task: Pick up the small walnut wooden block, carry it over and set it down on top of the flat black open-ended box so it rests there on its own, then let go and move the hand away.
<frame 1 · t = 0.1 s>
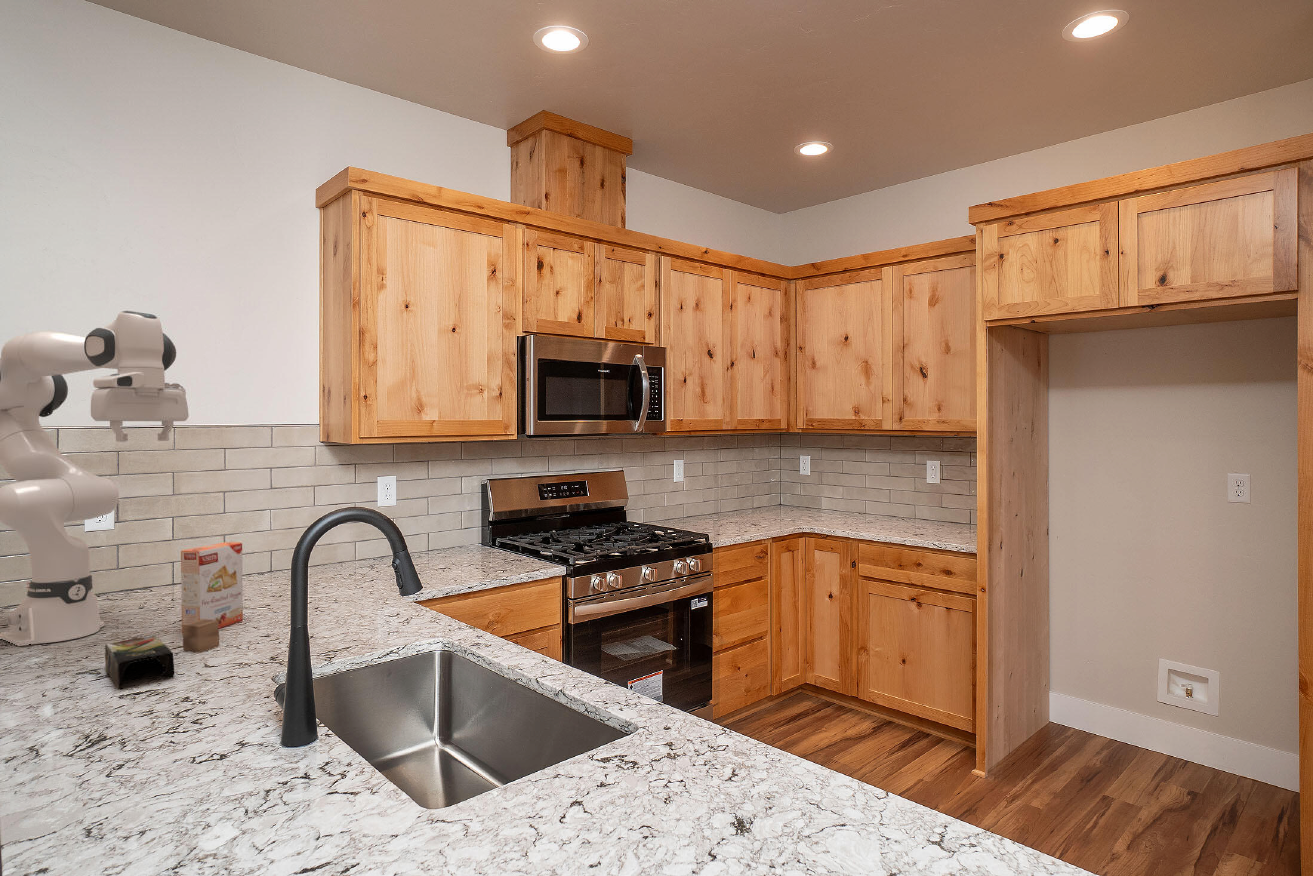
hand: (143, 441, 166), 48 cm above the countertop, tool pointing down, fingers open, 8 cm apart
walnut block: (201, 648, 165), on the countertop
cracker box: (214, 628, 183), on the countertop
black open-ended box: (139, 675, 149), on the countertop
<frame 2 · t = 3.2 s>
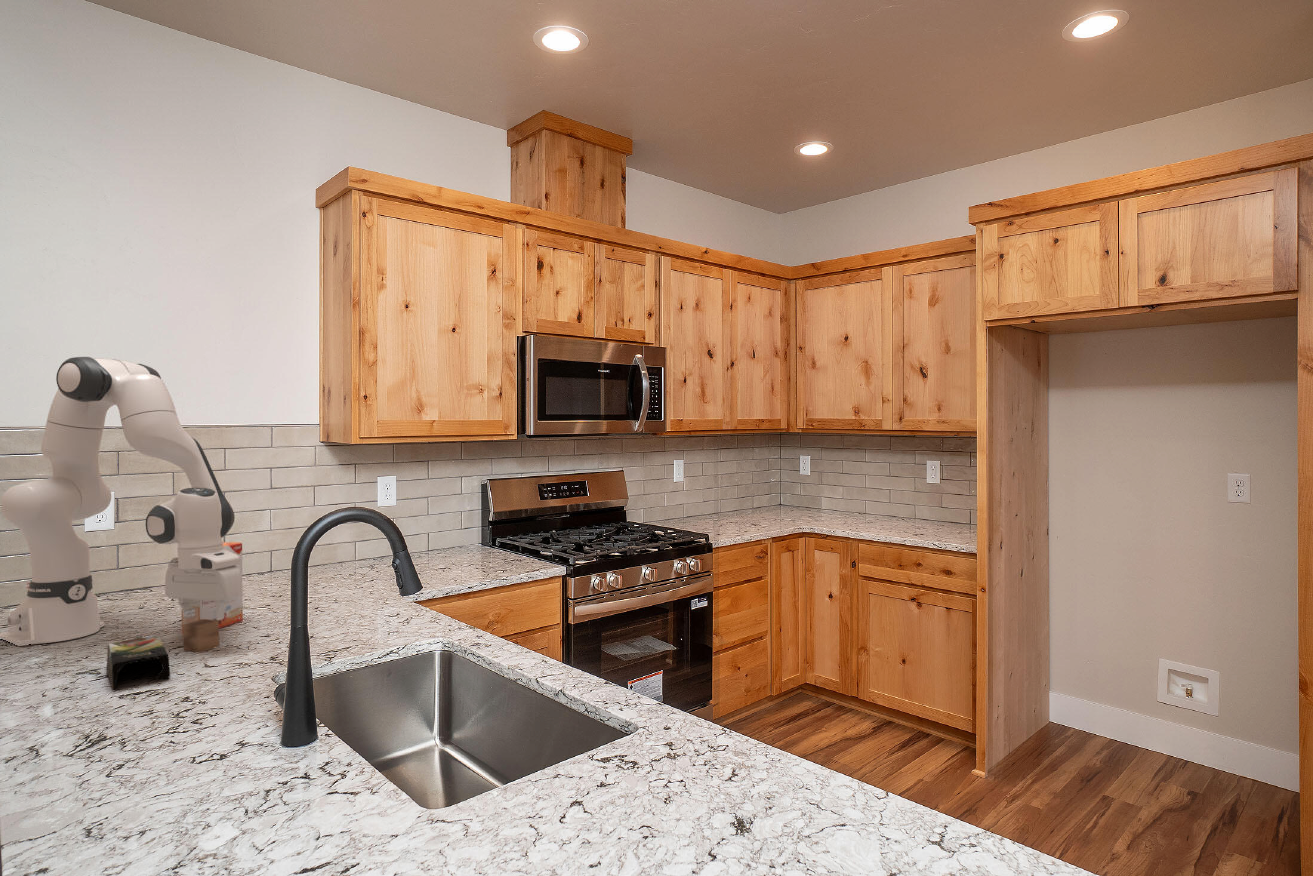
hand: (203, 618, 165), 7 cm above the countertop, tool pointing down, fingers open, 8 cm apart
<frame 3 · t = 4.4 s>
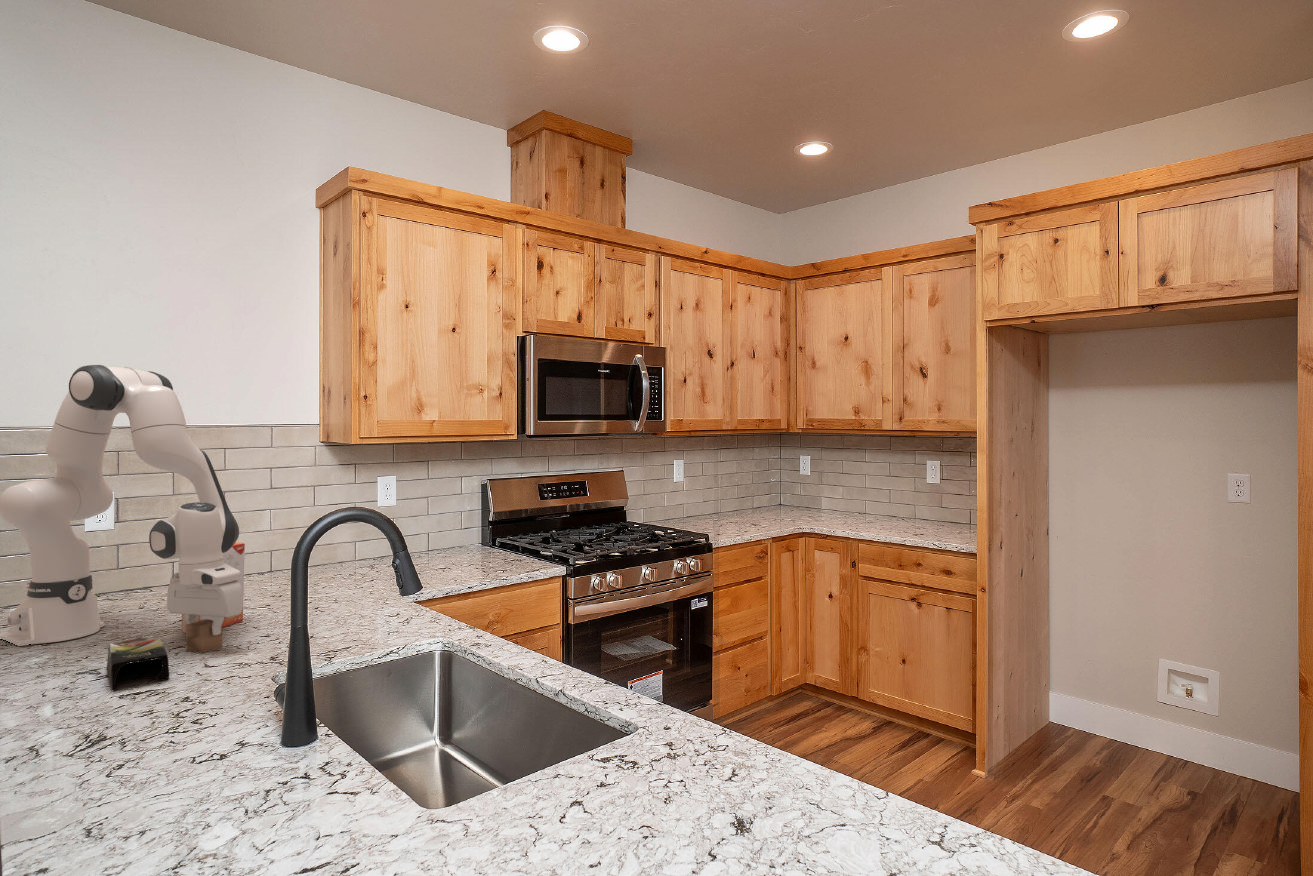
hand: (205, 633, 165), 3 cm above the countertop, tool pointing down, fingers closed on walnut block, 5 cm apart
walnut block: (204, 648, 165), on the countertop, touching gripper
cracker box: (213, 628, 183), on the countertop, touching arm
everything else where it was.
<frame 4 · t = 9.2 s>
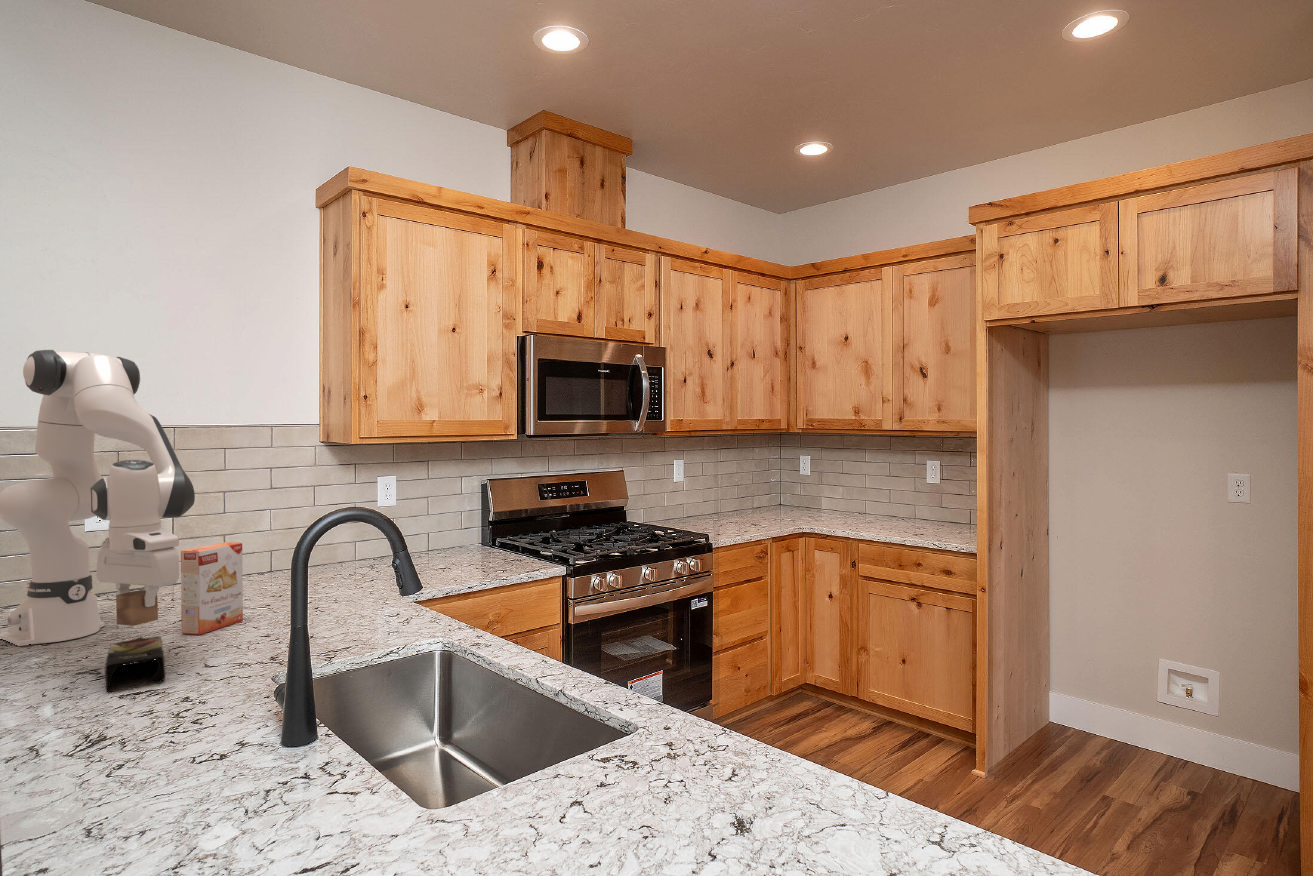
hand: (137, 605, 149), 14 cm above the countertop, tool pointing down, fingers closed on walnut block, 5 cm apart
walnut block: (137, 621, 149), point 11 cm above the countertop, touching gripper
cracker box: (214, 628, 183), on the countertop
when the fingers open (10 cm above the countertop, at t = 11.0 s): walnut block stays where it is, resting on black open-ended box.
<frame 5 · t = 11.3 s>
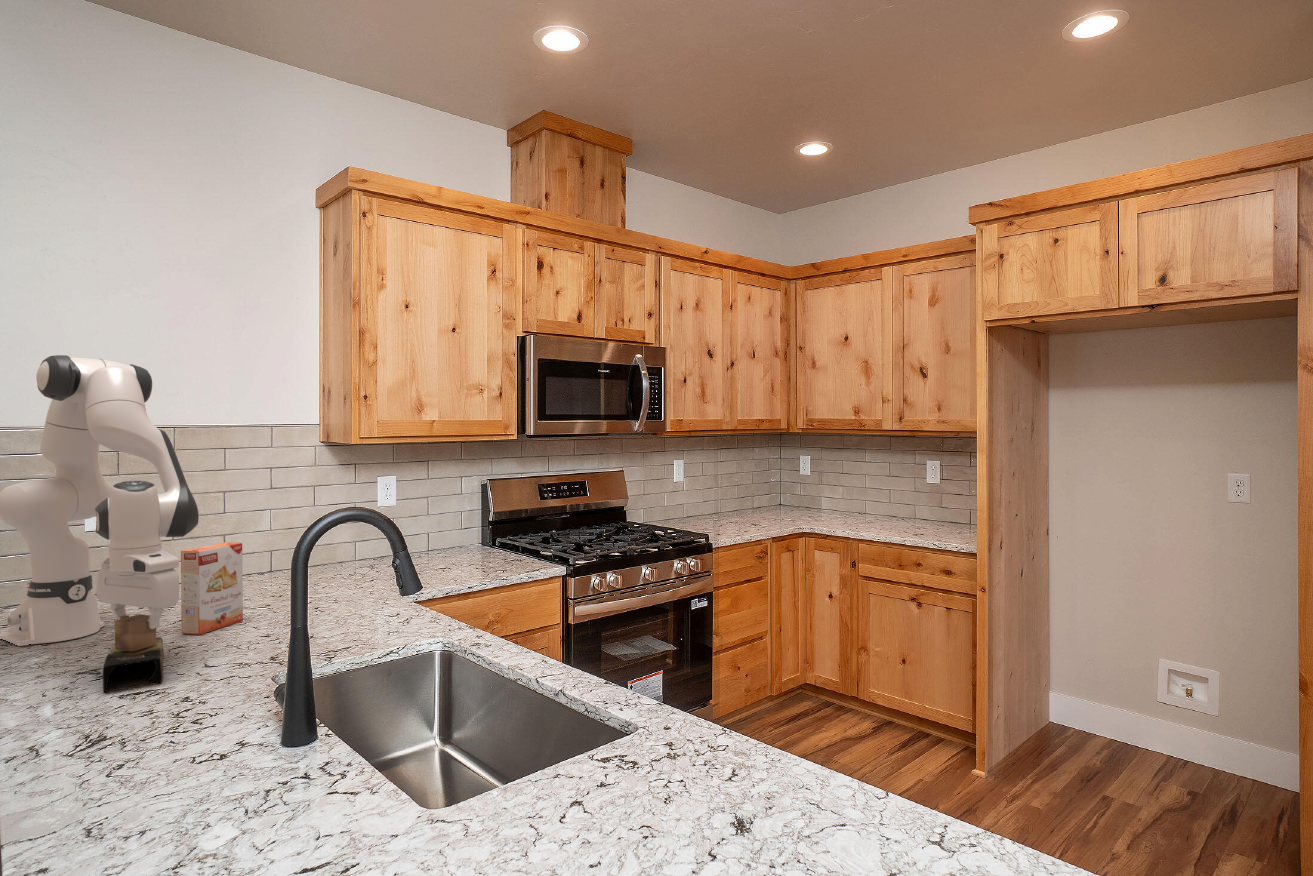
hand: (137, 626, 149), 10 cm above the countertop, tool pointing down, fingers open, 8 cm apart
walnut block: (136, 647, 149), point 5 cm above the countertop, touching black open-ended box
black open-ended box: (135, 678, 147), on the countertop, touching walnut block
everything else where it was.
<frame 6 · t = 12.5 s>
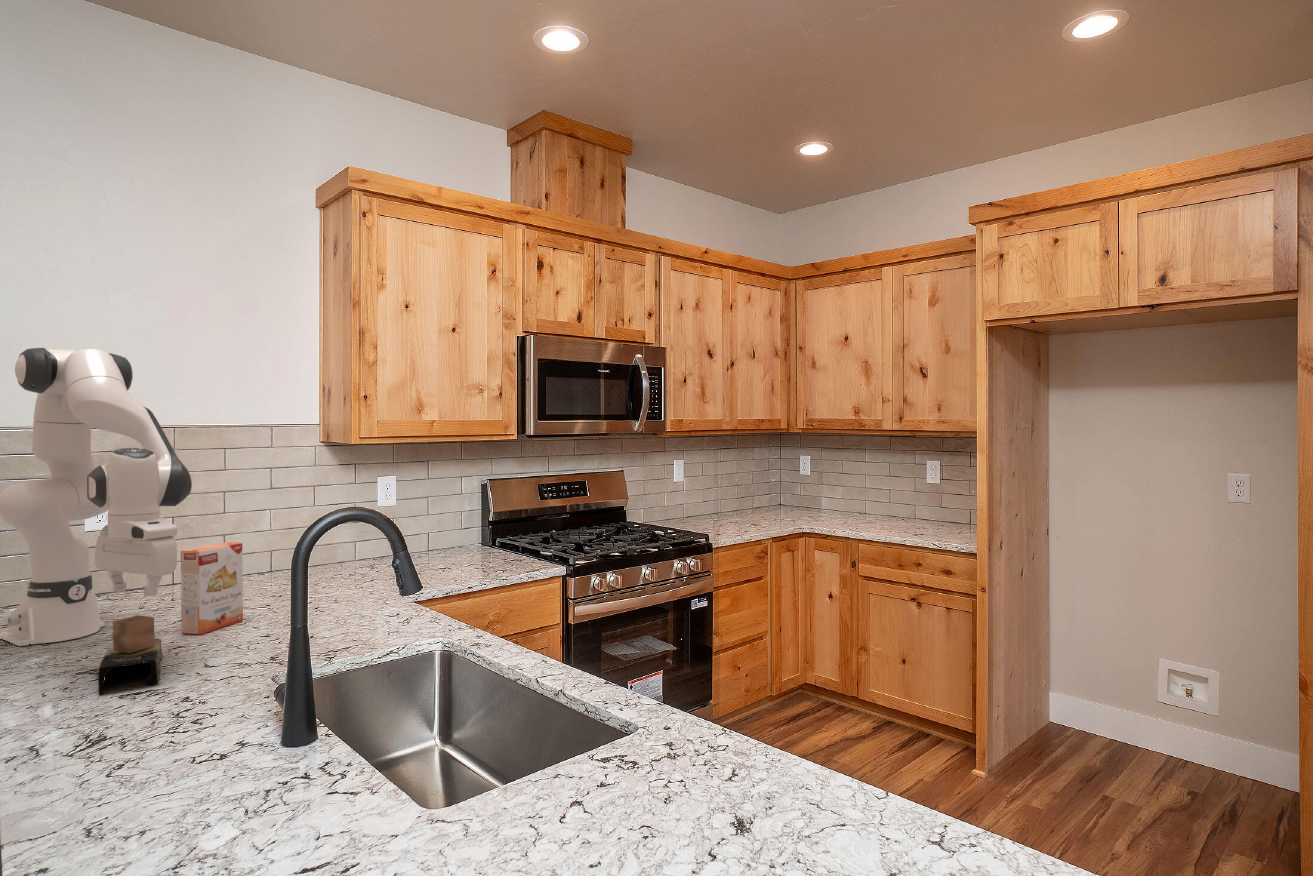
hand: (135, 593, 149), 16 cm above the countertop, tool pointing down, fingers open, 8 cm apart
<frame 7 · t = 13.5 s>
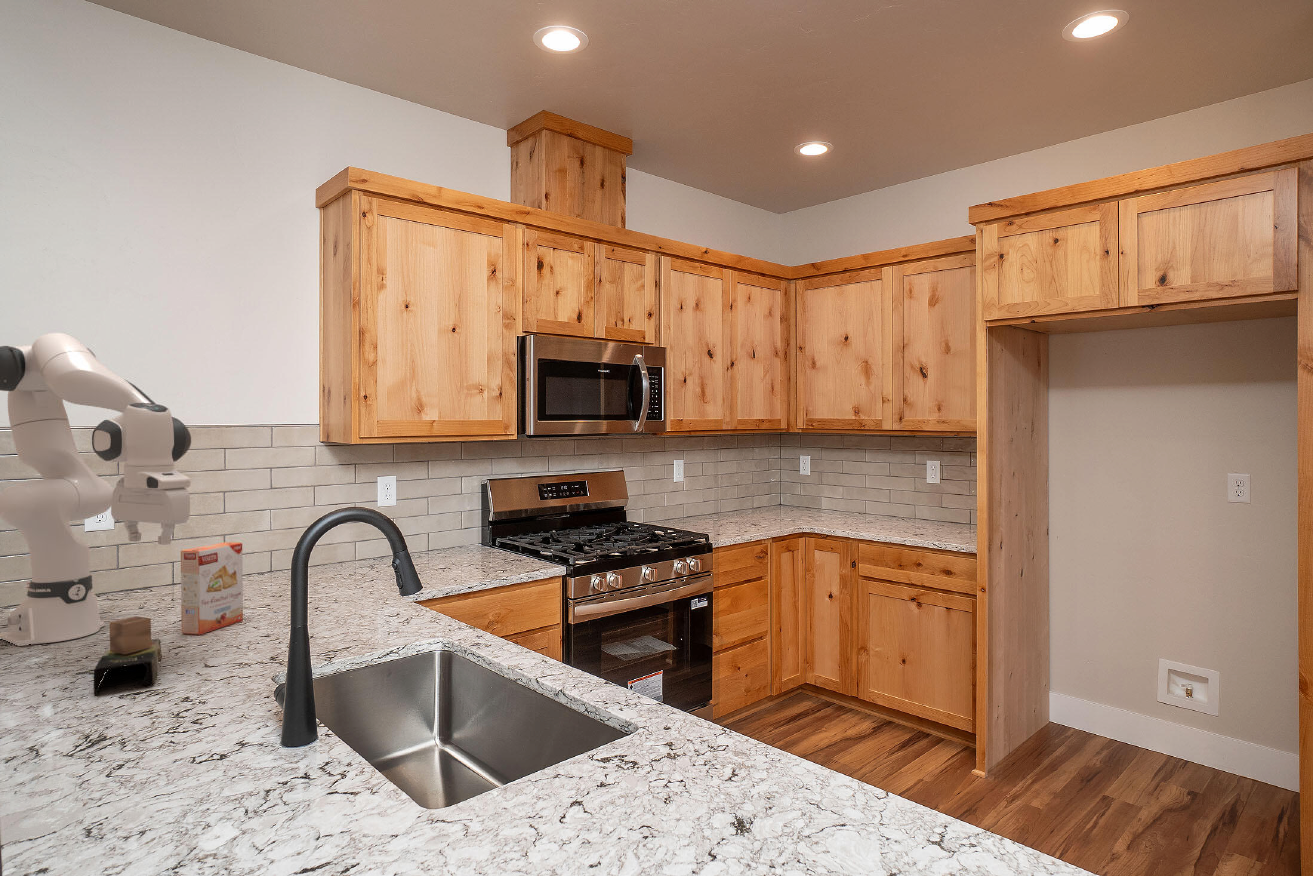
hand: (149, 542, 155), 26 cm above the countertop, tool pointing down, fingers open, 8 cm apart
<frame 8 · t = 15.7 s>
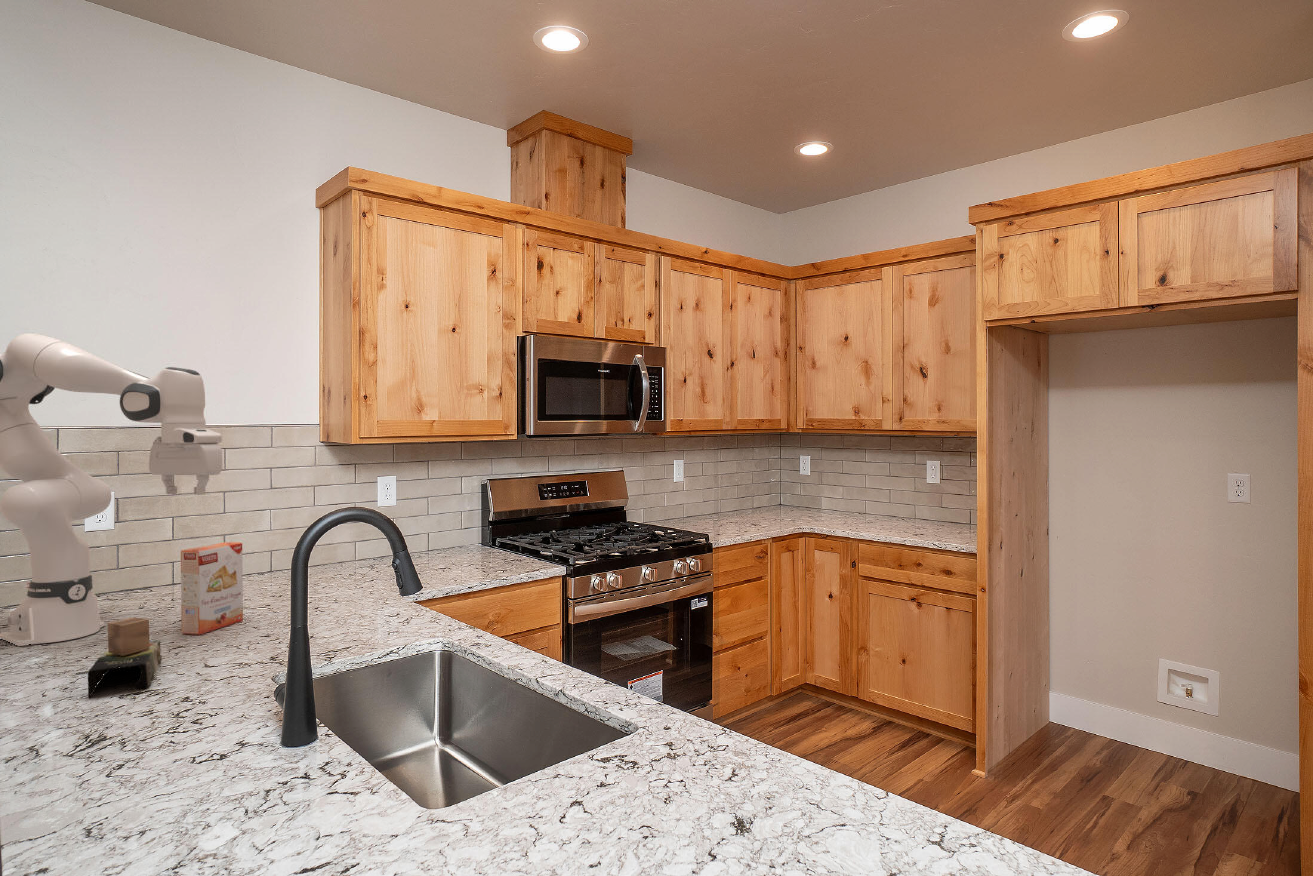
hand: (185, 494, 170), 35 cm above the countertop, tool pointing down, fingers open, 8 cm apart
walnut block: (129, 650, 146), point 5 cm above the countertop, touching black open-ended box
black open-ended box: (127, 682, 145), on the countertop, touching walnut block
everything else where it was.
at the end: walnut block inside the target area on the black open-ended box (1.2 cm from its centre), point 6.1 cm above the black open-ended box's base; walnut block tilted 0°; the gripper is holding nothing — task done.
